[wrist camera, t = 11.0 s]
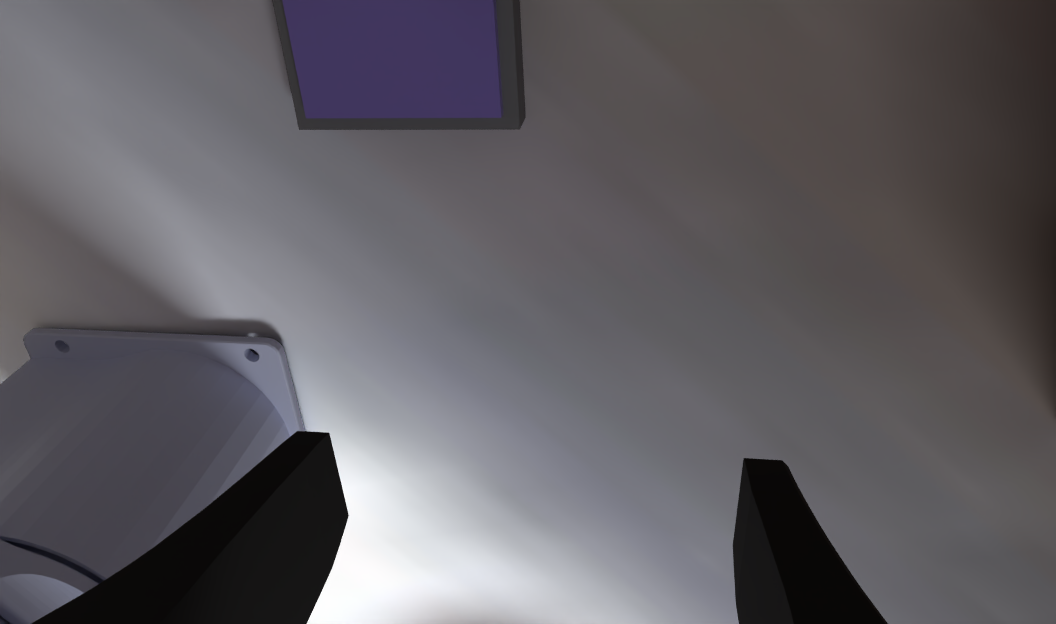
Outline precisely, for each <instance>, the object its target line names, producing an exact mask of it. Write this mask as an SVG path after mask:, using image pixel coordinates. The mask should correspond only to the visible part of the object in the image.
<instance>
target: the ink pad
mask: <svg viewBox="0 0 1056 624" xmlns="http://www.w3.org/2000/svg"><path fill="white" fill-rule="evenodd" d="M272 1H273V6H274V10H275V15H276V20H277V25H278V30H279V35H280V39H281V44H282V49H283V54H284V59H285V64H286V69H287V73H288V78H289V83H290V88H291V93H292V98H293V102H294V107H295V112H296V117H297V122H298V127H299V130H446V129H520V128H521V126H522V124H523V122H524V120H525V97H524V78H523V59H522V39H521V20H520V1H519V0H272Z"/></svg>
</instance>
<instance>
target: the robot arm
mask: <svg viewBox="0 0 1056 624" xmlns="http://www.w3.org/2000/svg"><path fill="white" fill-rule="evenodd" d="M23 340H24V344H25V347H26V349H27V351H28V353H29V355H30V357H31V359H30V360H29V361H28V362H26V363H25V364H24V365H23V366H22V367H20V368H19V369H18V370H17V371H16V372H14V373H13V374H12V375H11V376H10V377H8V378H7V379H6V380H5V381H4V382H2V383H1V384H0V624H307V621H308V619H309V617H310V615H311V613H312V611H313V609H314V606H315V604H316V602H317V600H318V598H319V596H320V593H321V591H322V589H323V587H324V585H325V583H326V580H327V578H328V576H329V574H330V571H331V569H332V567H333V564H334V561H335V558H336V555H337V552H338V549H339V546H340V542H341V539H342V536H343V532H344V529H345V526H346V522H347V519H348V516H349V515H348V511H347V507H346V502H345V498H344V494H343V490H342V485H341V481H340V477H339V473H338V468H337V464H336V460H335V455H334V451H333V447H332V443H331V438H330V434H329V433H323V432H307V431H305V429H304V425H303V421H302V417H301V414H300V410H299V406H298V402H297V398H296V394H295V390H294V386H293V382H292V378H291V374H290V370H289V367H288V363H287V359H286V355H285V351H284V349H283V347H282V345H281V344H280V343H279V342H278V341H276V340H274V339H272V338H266V337H242V336H218V335H195V334H171V333H147V332H124V331H100V330H76V329H53V328H34V329H32V330H31V331H29V332H28V333H27V334H26V335H25V336H24V339H23ZM64 342H65V343H67V344H65V343H64ZM250 349H253V350H255V351H256V352H258V354H259V355H256V354H254V353H253V352H251V350H250ZM733 558H734V578H735V595H736V607H737V613H738V620H739V624H888V623H887V622H886V621H885V619H884V618H883V617H882V615H881V614H880V613H879V611H878V610H877V609H876V607H875V606H874V605H873V603H872V602H871V601H870V599H869V598H868V597H867V595H866V594H865V593H864V591H863V590H862V588H861V587H860V586H859V584H858V583H857V581H856V580H855V578H854V577H853V576H852V574H851V573H850V571H849V570H848V568H847V567H846V565H845V564H844V562H843V561H842V559H841V558H840V556H839V554H838V553H837V551H836V550H835V548H834V547H833V545H832V544H831V542H830V541H829V539H828V538H827V536H826V534H825V533H824V531H823V530H822V528H821V526H820V525H819V523H818V521H817V519H816V518H815V516H814V514H813V513H812V511H811V509H810V507H809V506H808V504H807V502H806V500H805V499H804V497H803V495H802V493H801V491H800V489H799V487H798V486H797V484H796V482H795V480H794V478H793V476H792V474H791V472H790V469H789V467H788V466H787V465H786V464H785V463H784V462H783V461H782V460H766V459H749V458H744V460H743V468H742V476H741V484H740V492H739V500H738V508H737V516H736V524H735V532H734V540H733Z"/></svg>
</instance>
